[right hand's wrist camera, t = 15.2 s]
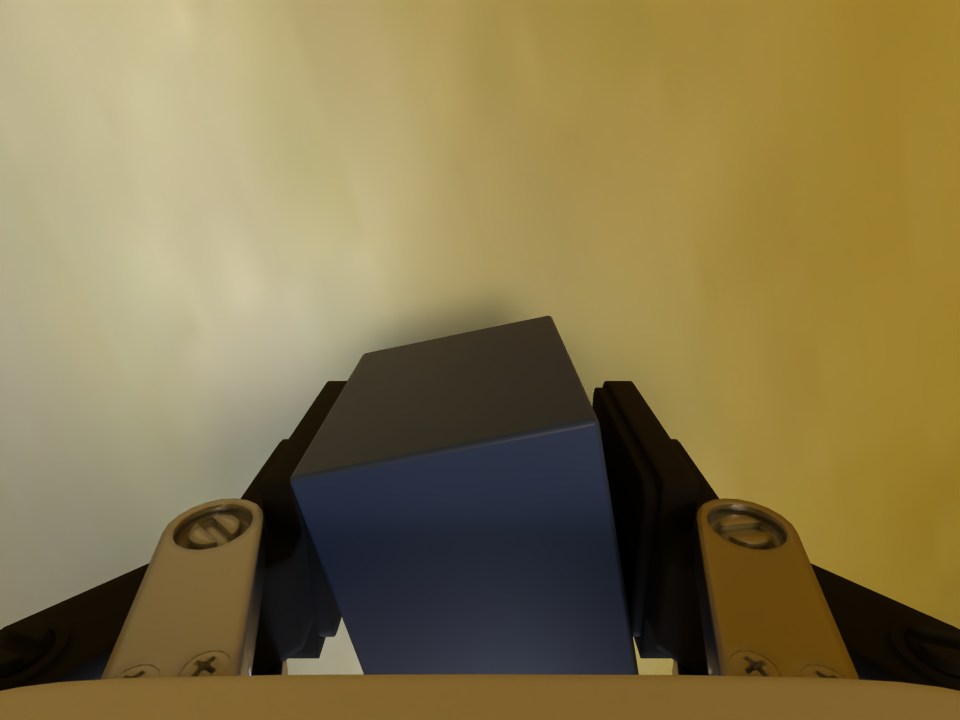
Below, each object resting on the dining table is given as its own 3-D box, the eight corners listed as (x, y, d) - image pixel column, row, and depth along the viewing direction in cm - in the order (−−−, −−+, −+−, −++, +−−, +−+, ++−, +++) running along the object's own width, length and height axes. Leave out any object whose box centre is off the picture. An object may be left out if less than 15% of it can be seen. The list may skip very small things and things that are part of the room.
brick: (362, 352, 12) (286, 479, 7) (550, 314, 11) (599, 419, 7) (417, 534, 13) (385, 734, 9) (584, 503, 13) (642, 693, 8)
